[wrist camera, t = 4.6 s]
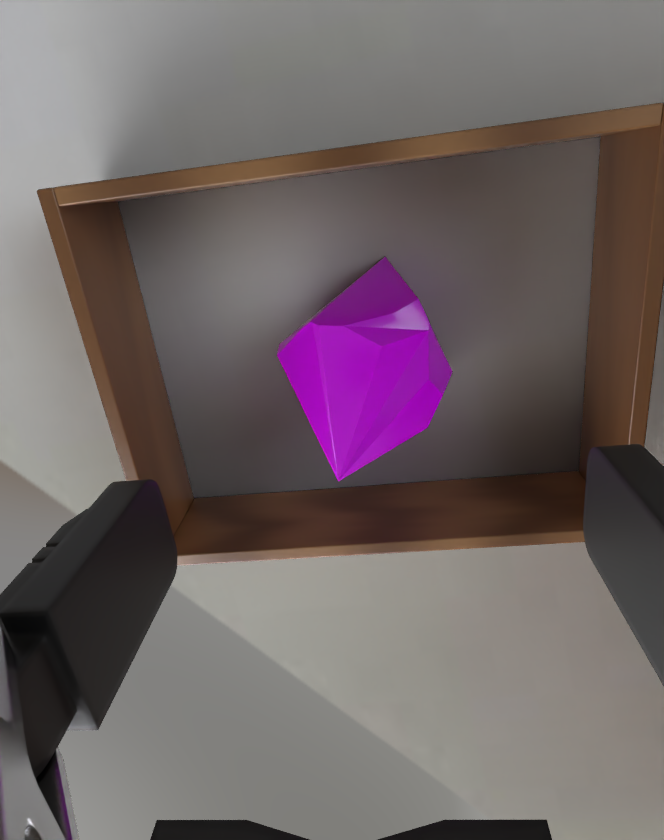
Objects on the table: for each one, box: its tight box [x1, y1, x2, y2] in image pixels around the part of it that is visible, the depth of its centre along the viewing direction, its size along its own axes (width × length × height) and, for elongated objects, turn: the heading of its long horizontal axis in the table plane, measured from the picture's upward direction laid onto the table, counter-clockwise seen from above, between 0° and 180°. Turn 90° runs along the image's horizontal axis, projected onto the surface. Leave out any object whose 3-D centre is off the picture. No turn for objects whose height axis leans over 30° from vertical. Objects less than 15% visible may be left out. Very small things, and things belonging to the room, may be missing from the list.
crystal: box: [277, 257, 453, 481], centre depth 18 cm, size 5×5×5 cm
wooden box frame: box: [37, 103, 664, 565], centre depth 19 cm, size 17×13×4 cm
